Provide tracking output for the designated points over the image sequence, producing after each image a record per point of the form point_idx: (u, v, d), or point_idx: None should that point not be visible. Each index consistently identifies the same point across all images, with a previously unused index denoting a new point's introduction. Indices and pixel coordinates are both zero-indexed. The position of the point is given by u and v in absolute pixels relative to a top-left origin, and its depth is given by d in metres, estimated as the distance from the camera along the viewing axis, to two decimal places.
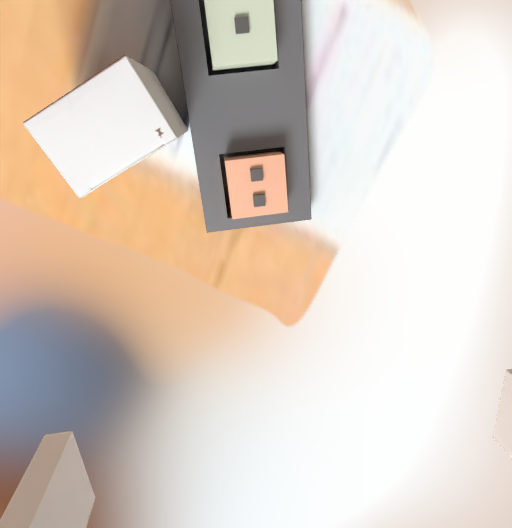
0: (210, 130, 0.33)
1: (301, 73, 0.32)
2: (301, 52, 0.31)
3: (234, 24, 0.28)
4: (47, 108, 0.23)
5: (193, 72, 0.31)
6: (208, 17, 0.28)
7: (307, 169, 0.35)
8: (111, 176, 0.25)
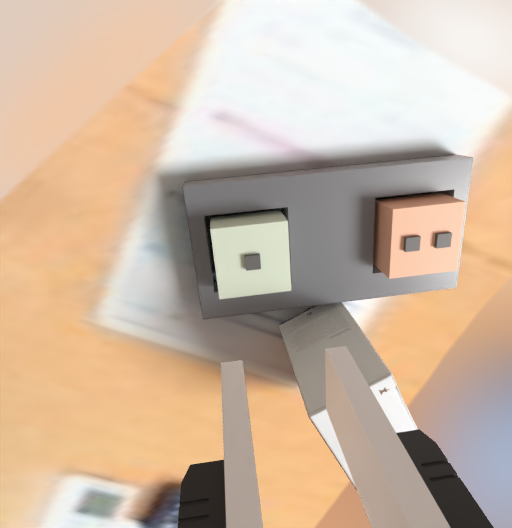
0: (346, 282, 0.29)
1: (294, 179, 0.26)
2: (271, 180, 0.25)
3: (251, 269, 0.25)
4: (348, 474, 0.24)
5: (288, 297, 0.29)
6: (245, 294, 0.26)
7: (407, 166, 0.26)
8: None
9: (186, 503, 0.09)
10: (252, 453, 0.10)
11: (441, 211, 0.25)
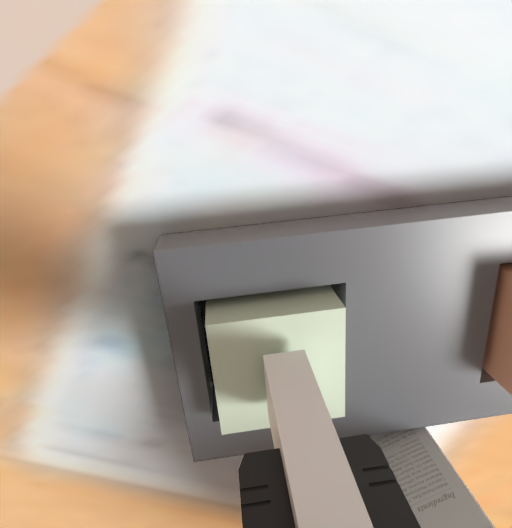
0: (435, 397, 0.17)
1: (360, 234, 0.14)
2: (319, 237, 0.14)
3: None
4: None
5: (337, 424, 0.17)
6: (265, 425, 0.15)
7: None
8: None
9: (246, 489, 0.09)
10: (309, 441, 0.10)
11: None
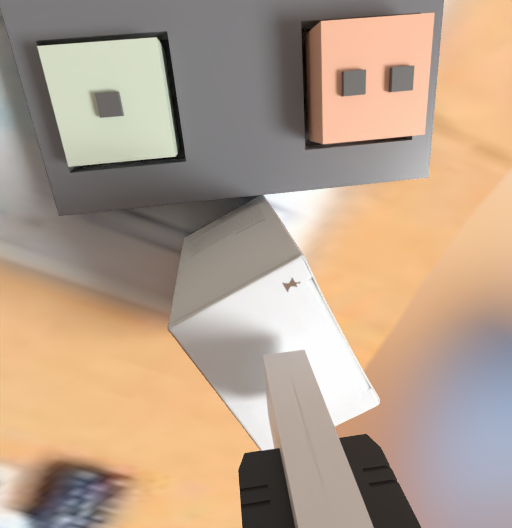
0: (267, 162, 0.20)
1: None
2: None
3: (109, 117, 0.17)
4: (248, 431, 0.16)
5: (182, 185, 0.20)
6: (106, 160, 0.18)
7: None
8: (354, 359, 0.15)
9: (246, 489, 0.09)
10: (308, 441, 0.10)
11: (397, 28, 0.17)
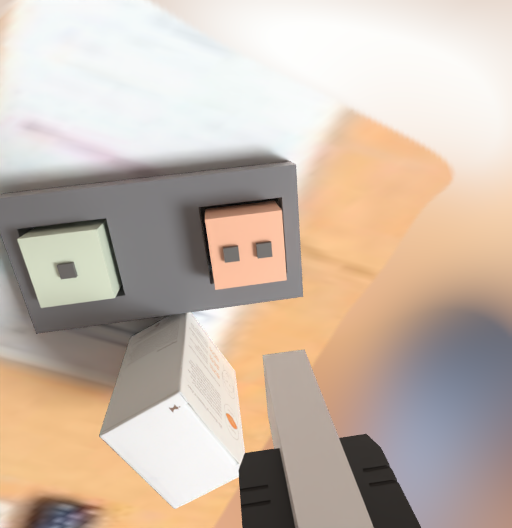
0: (183, 293, 0.28)
1: (107, 189, 0.25)
2: (83, 191, 0.25)
3: (67, 278, 0.25)
4: (158, 493, 0.24)
5: (123, 310, 0.28)
6: (67, 302, 0.26)
7: (227, 174, 0.25)
8: (224, 447, 0.23)
9: (246, 489, 0.09)
10: (308, 441, 0.10)
11: (257, 220, 0.25)
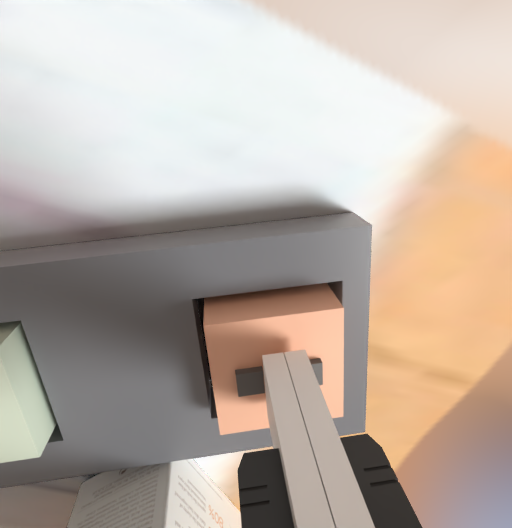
0: (165, 433, 0.16)
1: (19, 271, 0.13)
2: None
3: None
4: None
5: (62, 462, 0.16)
6: None
7: (245, 243, 0.14)
8: None
9: (245, 489, 0.09)
10: (307, 441, 0.10)
11: (299, 325, 0.14)
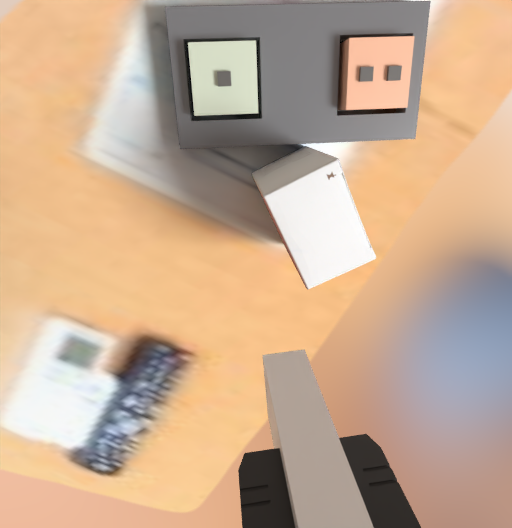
0: (312, 122, 0.32)
1: (266, 8, 0.28)
2: (245, 7, 0.28)
3: (223, 86, 0.29)
4: (299, 268, 0.27)
5: (258, 133, 0.32)
6: (217, 112, 0.30)
7: (369, 4, 0.29)
8: (362, 227, 0.26)
9: (246, 489, 0.09)
10: (308, 441, 0.10)
11: (392, 44, 0.29)
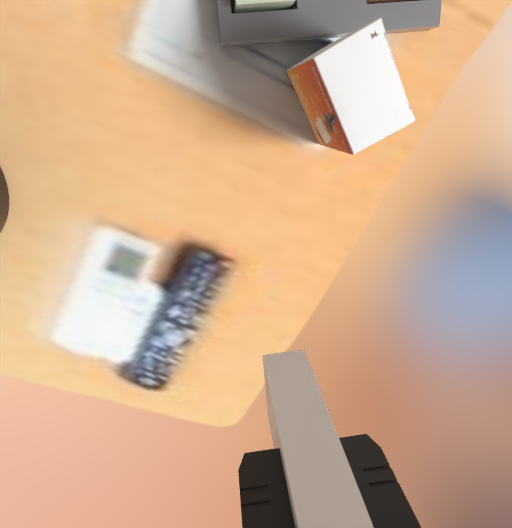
0: (344, 11, 0.34)
1: None
2: None
3: None
4: (345, 132, 0.29)
5: (294, 24, 0.34)
6: (257, 1, 0.32)
7: None
8: (402, 88, 0.29)
9: (246, 489, 0.09)
10: (308, 441, 0.10)
11: None
